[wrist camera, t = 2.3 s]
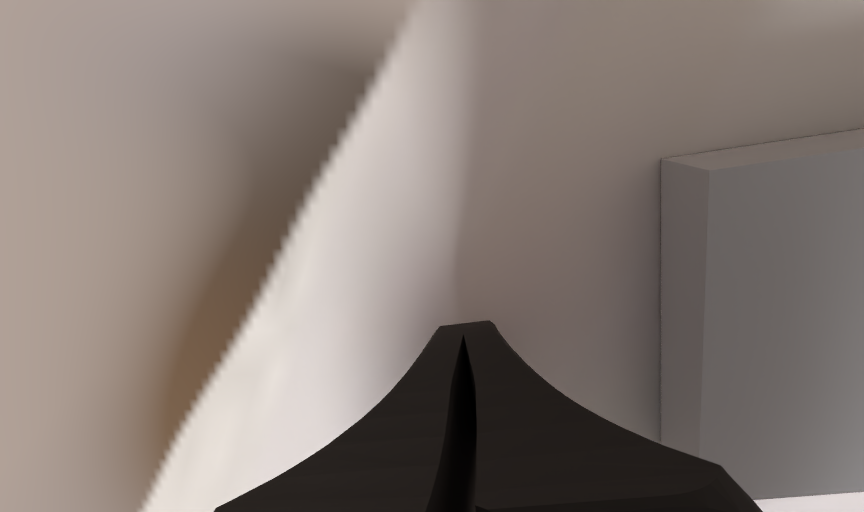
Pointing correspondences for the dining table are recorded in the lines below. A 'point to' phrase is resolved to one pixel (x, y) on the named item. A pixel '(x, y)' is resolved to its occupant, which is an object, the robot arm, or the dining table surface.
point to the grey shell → (766, 313)
